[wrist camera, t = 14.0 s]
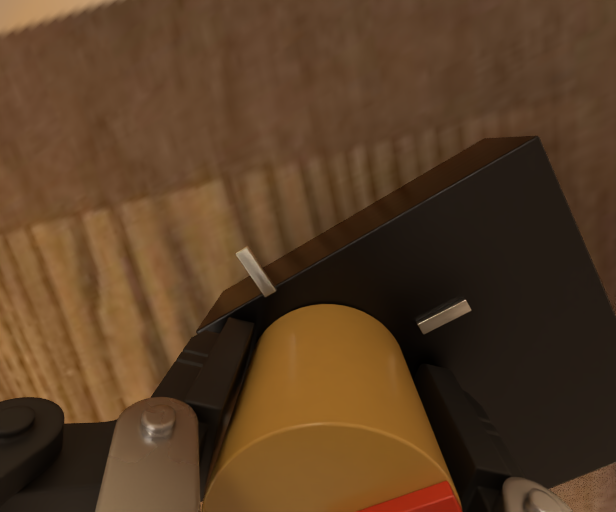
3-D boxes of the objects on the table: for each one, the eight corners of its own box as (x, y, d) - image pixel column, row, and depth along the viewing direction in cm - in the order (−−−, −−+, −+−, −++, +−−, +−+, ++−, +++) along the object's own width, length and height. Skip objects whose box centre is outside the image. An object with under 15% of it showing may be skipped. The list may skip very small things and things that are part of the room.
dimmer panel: (160, 286, 13) (112, 327, 10) (466, 99, 11) (520, 81, 8) (322, 500, 16) (323, 584, 13) (597, 379, 14) (675, 445, 11)
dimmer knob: (293, 457, 11) (274, 668, 7) (221, 342, 10) (140, 498, 6) (428, 406, 11) (509, 602, 6) (365, 277, 10) (407, 395, 5)
